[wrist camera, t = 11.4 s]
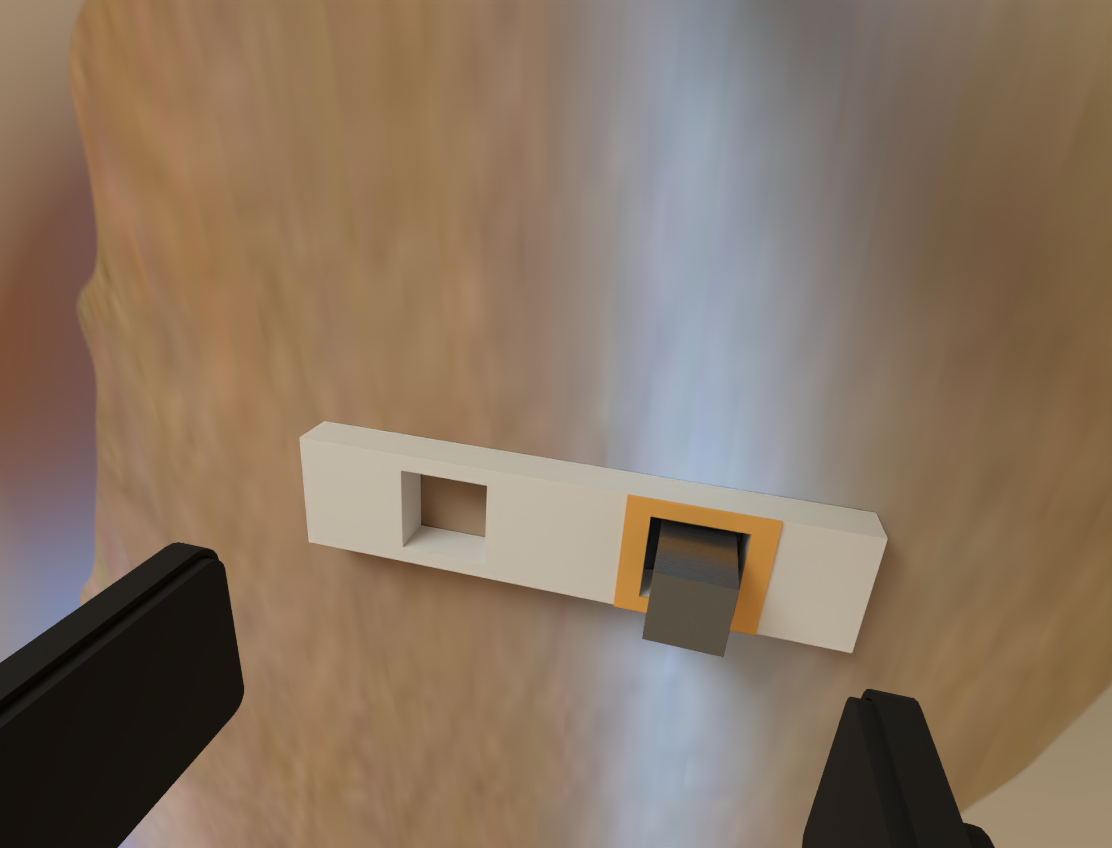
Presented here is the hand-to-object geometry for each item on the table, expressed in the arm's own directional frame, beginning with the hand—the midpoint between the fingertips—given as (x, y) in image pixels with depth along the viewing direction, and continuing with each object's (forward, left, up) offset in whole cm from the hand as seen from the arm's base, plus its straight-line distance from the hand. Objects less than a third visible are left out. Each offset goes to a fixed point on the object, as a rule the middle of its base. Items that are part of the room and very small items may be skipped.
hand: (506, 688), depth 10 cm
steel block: (+15, +4, -30) cm, 34 cm away
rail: (+15, -4, -30) cm, 34 cm away
